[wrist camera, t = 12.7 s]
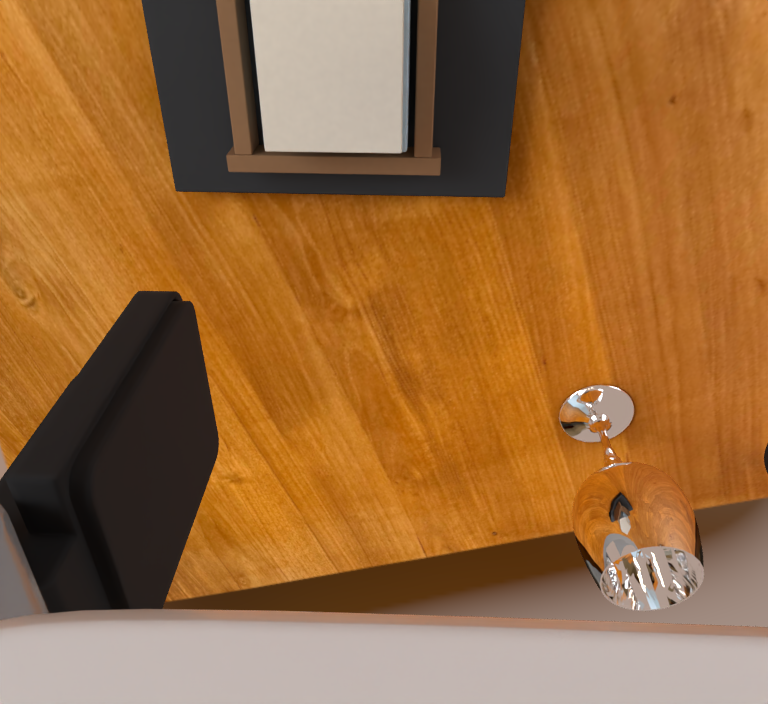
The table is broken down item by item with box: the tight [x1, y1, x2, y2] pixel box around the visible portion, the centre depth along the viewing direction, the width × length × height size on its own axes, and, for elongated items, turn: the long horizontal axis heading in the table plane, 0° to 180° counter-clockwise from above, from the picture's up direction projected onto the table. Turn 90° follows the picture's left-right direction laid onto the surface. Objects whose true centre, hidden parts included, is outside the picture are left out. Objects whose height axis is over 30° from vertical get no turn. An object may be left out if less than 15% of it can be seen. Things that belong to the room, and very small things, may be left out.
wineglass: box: [559, 384, 704, 611], centre depth 36 cm, size 6×6×12 cm
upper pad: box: [250, 0, 411, 153], centre depth 28 cm, size 6×6×4 cm
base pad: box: [142, 0, 525, 197], centre depth 29 cm, size 16×12×3 cm
